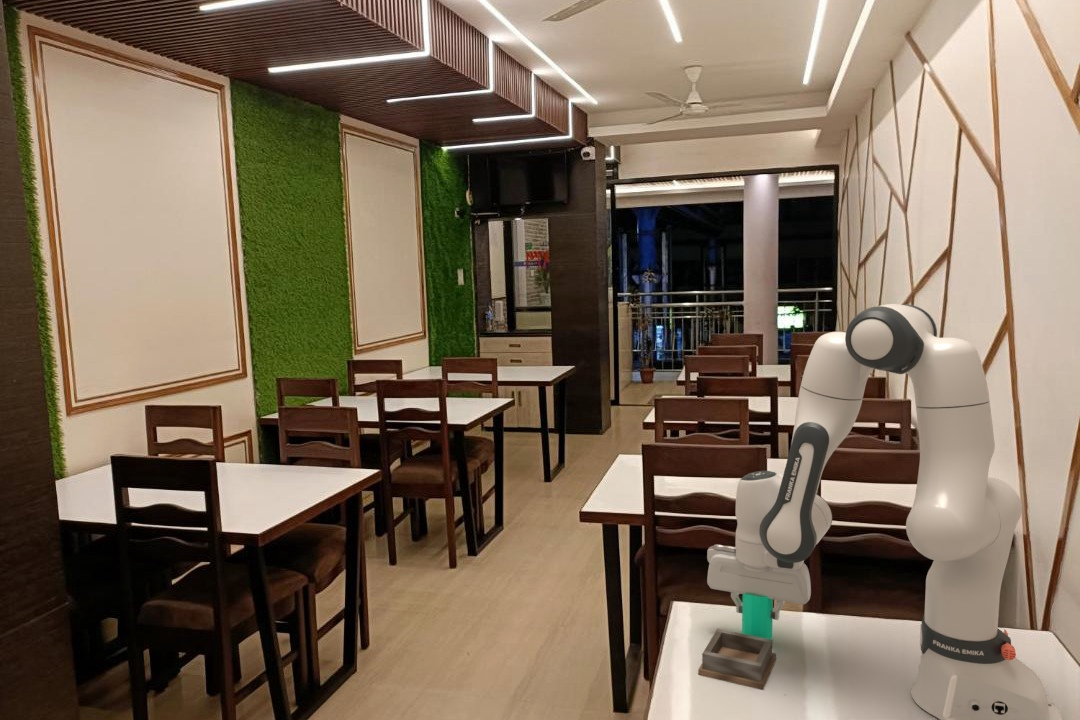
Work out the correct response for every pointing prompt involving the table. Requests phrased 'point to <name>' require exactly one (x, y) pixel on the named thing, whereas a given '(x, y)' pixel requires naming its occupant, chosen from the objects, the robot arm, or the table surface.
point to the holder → (738, 658)
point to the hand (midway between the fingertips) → (757, 615)
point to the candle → (757, 616)
